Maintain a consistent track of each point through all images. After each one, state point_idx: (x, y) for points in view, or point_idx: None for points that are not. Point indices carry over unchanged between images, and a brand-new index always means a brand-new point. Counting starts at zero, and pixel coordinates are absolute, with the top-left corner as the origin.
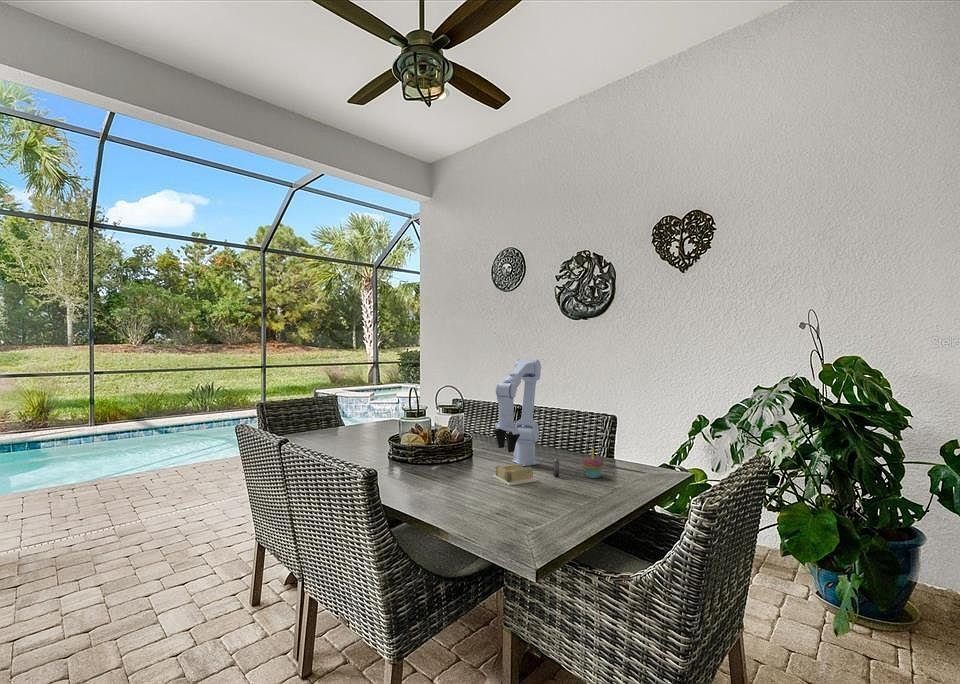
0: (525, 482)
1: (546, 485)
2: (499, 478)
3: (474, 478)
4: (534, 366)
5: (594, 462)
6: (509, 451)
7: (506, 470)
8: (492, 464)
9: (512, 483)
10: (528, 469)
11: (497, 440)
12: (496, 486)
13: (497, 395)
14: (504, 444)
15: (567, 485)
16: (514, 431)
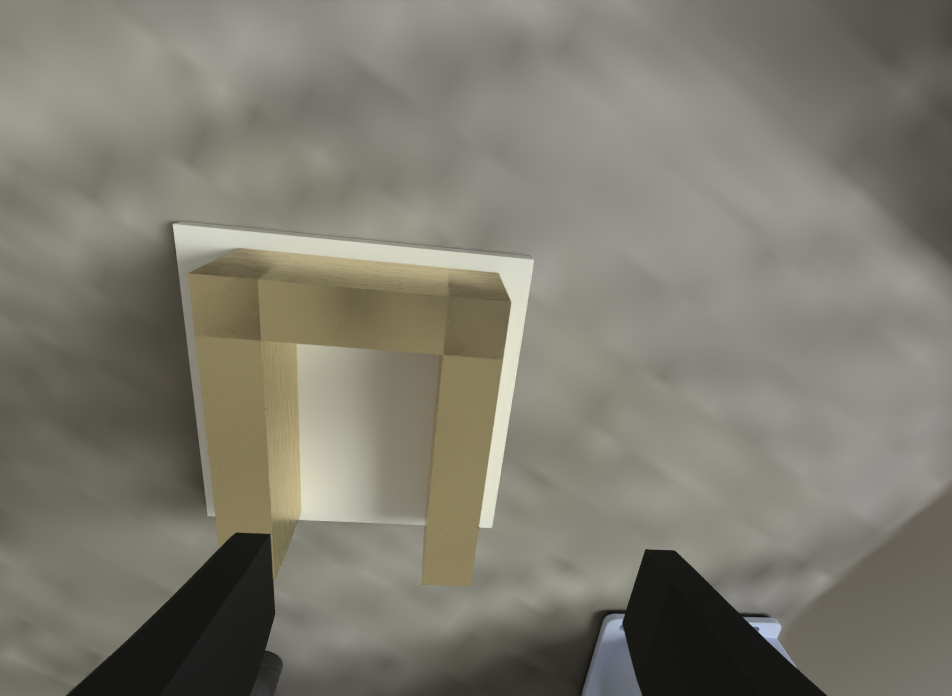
0: (201, 407)
1: (71, 505)
2: (397, 252)
3: (612, 30)
4: None
5: None
6: (218, 549)
7: (286, 319)
8: (837, 462)
9: (178, 270)
10: (218, 536)
11: (781, 684)
12: (214, 85)
13: None
14: (641, 688)
15: (21, 617)
16: None
